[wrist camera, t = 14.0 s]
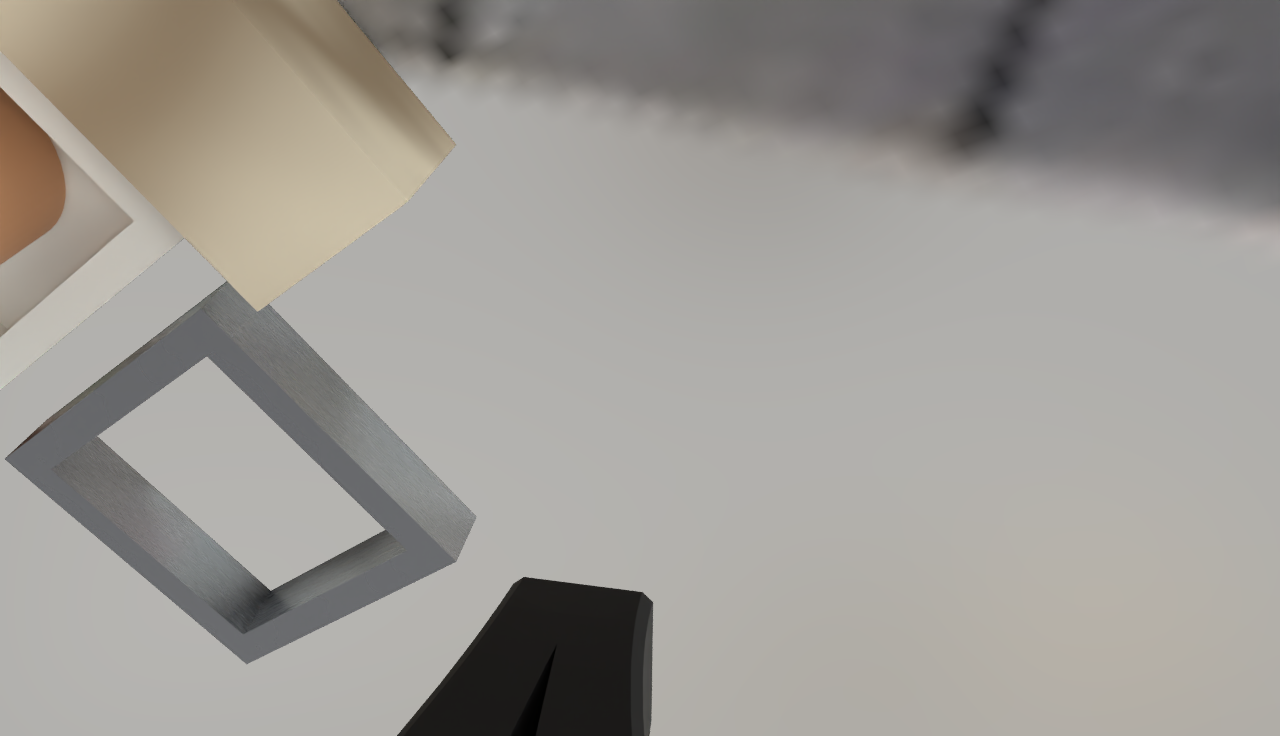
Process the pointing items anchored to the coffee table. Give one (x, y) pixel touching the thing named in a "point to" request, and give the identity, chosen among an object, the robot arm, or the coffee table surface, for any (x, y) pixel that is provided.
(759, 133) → the coffee table surface
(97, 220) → the tray
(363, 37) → the cream rectangular block
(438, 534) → the socket
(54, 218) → the dowel
